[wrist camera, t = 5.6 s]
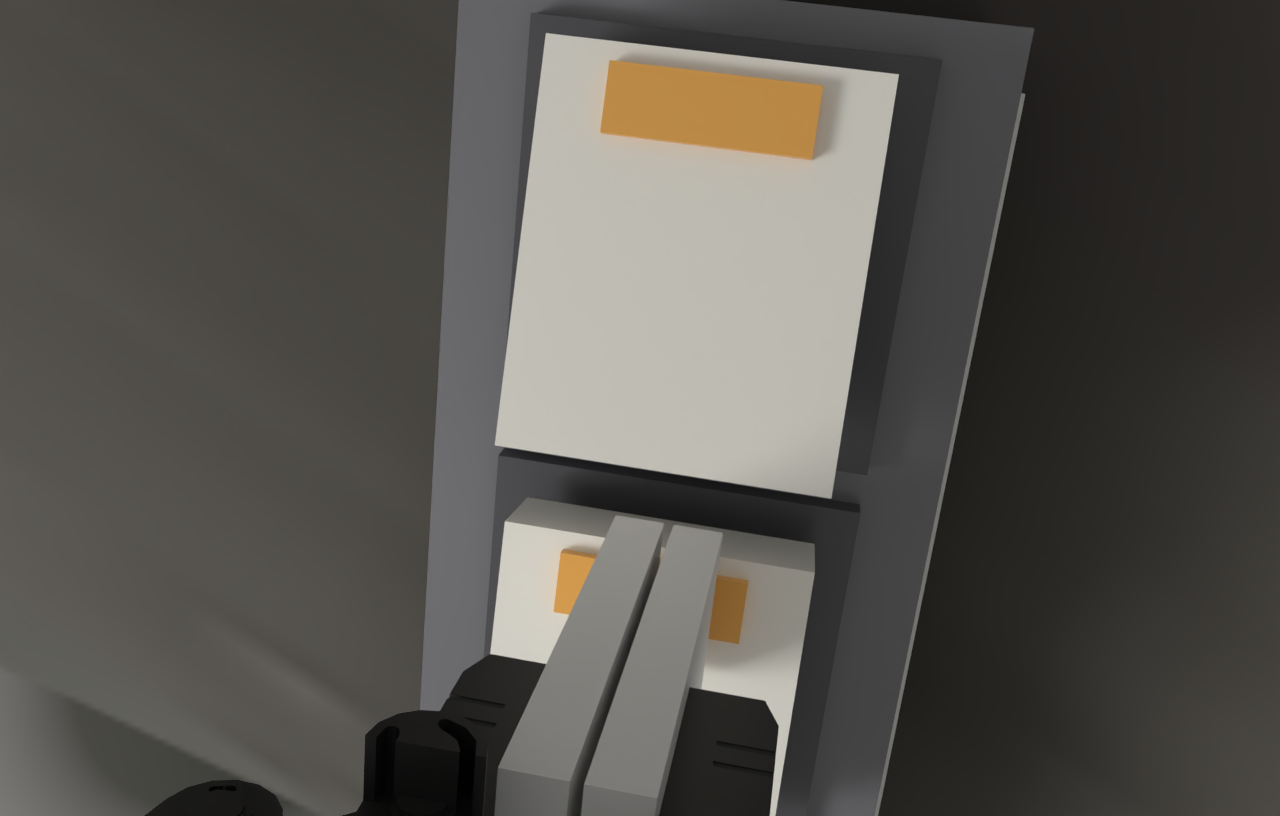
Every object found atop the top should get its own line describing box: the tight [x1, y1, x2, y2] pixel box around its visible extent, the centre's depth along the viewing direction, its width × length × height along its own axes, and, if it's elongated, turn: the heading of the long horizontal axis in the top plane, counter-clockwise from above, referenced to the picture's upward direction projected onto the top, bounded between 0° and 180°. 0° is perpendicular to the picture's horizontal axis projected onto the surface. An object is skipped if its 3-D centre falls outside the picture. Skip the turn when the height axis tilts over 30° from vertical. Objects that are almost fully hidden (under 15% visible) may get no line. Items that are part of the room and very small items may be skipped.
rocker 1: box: [495, 33, 899, 499], centre depth 18 cm, size 5×6×2 cm
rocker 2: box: [490, 497, 815, 816], centre depth 20 cm, size 5×6×2 cm
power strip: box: [420, 0, 1034, 816], centre depth 25 cm, size 9×29×5 cm, turn 174°
